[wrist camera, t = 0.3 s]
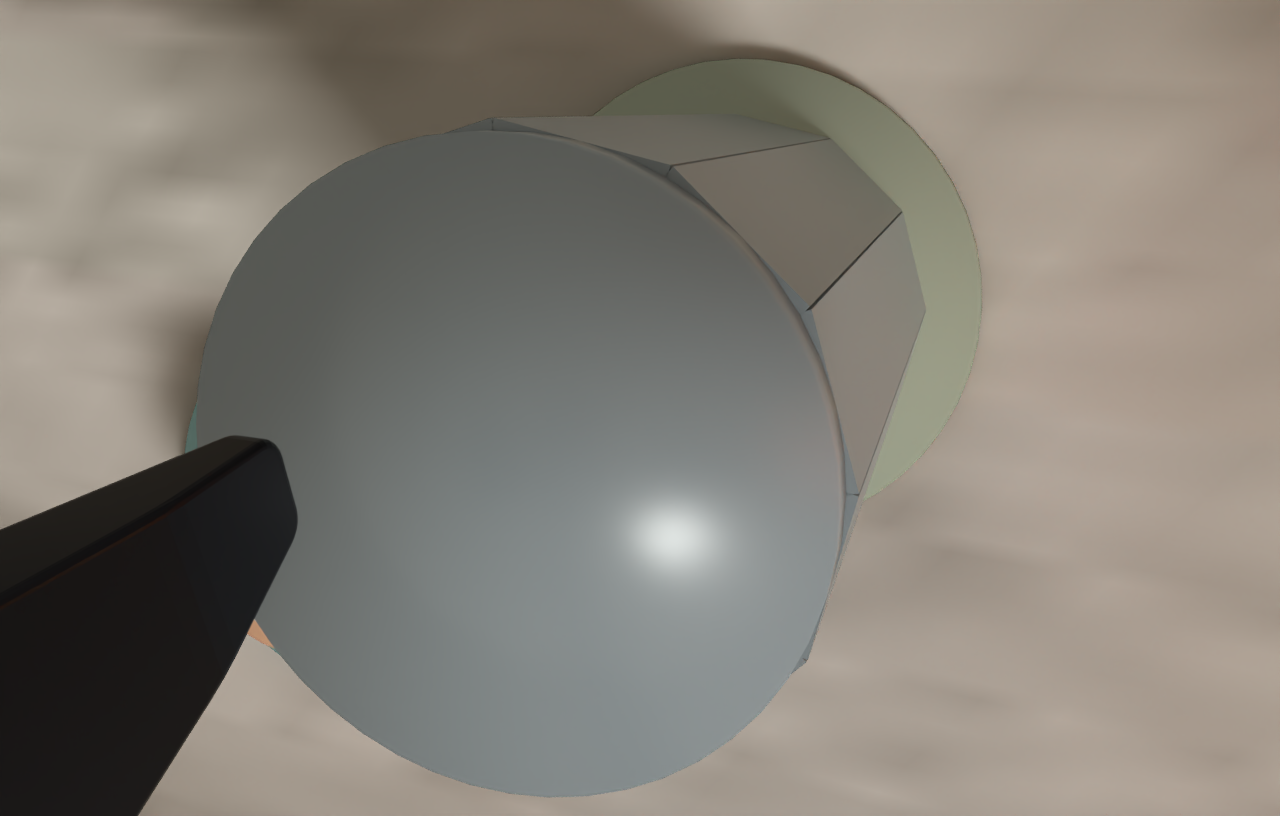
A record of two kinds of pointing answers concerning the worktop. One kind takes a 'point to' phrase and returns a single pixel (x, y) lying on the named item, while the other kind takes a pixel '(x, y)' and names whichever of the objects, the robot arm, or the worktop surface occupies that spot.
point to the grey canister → (566, 431)
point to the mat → (901, 175)
